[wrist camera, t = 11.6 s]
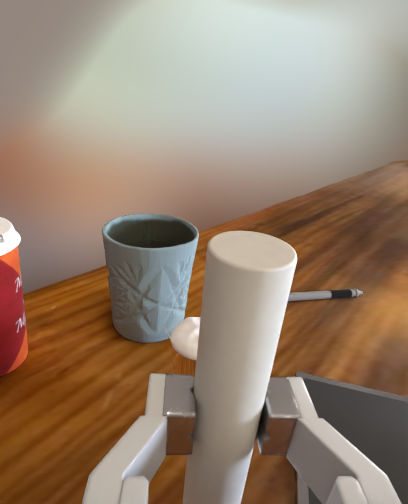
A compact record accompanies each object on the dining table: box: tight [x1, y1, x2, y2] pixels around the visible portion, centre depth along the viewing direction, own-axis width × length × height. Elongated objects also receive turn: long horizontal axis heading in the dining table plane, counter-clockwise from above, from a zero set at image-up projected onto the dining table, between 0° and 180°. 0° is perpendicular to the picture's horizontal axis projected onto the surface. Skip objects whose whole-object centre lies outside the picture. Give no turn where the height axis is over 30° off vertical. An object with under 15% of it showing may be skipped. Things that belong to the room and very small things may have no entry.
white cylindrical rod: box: [183, 231, 297, 504], centre depth 11 cm, size 2×2×13 cm
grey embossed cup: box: [102, 214, 199, 343], centre depth 39 cm, size 10×10×12 cm
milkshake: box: [162, 317, 201, 375], centre depth 28 cm, size 4×5×10 cm
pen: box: [288, 289, 364, 301], centre depth 48 cm, size 1×16×1 cm, turn 103°
